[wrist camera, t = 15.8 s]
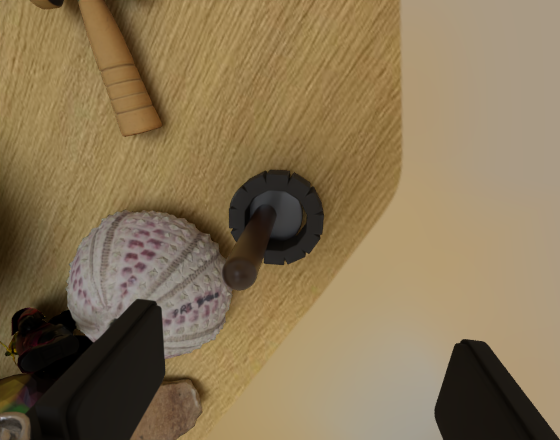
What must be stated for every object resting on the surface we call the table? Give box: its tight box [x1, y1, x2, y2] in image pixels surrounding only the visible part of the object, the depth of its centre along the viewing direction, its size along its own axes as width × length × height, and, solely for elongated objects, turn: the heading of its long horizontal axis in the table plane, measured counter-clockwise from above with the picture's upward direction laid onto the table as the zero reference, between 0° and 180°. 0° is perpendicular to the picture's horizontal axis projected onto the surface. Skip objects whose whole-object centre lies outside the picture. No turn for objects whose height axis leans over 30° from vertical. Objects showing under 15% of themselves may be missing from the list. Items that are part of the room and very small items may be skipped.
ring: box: [229, 170, 324, 265], centre depth 24 cm, size 7×7×2 cm
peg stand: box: [222, 184, 303, 291], centre depth 21 cm, size 6×6×12 cm
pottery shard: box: [130, 379, 202, 440], centre depth 31 cm, size 8×3×15 cm
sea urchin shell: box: [65, 210, 233, 359], centre depth 25 cm, size 13×14×8 cm
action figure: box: [0, 308, 94, 382], centre depth 26 cm, size 15×6×20 cm
